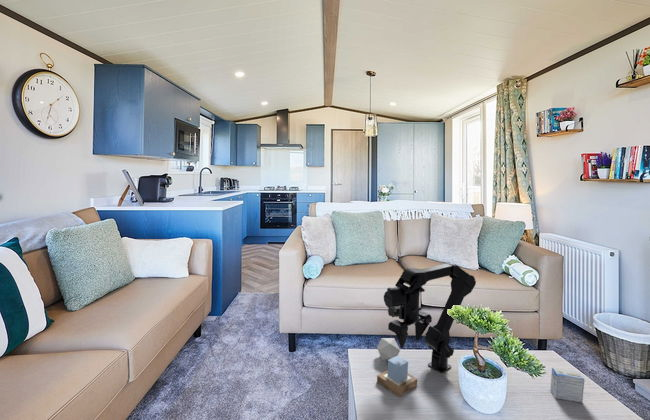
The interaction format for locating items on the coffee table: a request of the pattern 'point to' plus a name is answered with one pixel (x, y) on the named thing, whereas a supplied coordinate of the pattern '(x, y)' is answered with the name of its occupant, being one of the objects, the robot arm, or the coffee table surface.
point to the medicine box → (567, 385)
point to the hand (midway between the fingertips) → (409, 343)
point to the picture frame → (397, 387)
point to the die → (388, 348)
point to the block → (397, 369)
